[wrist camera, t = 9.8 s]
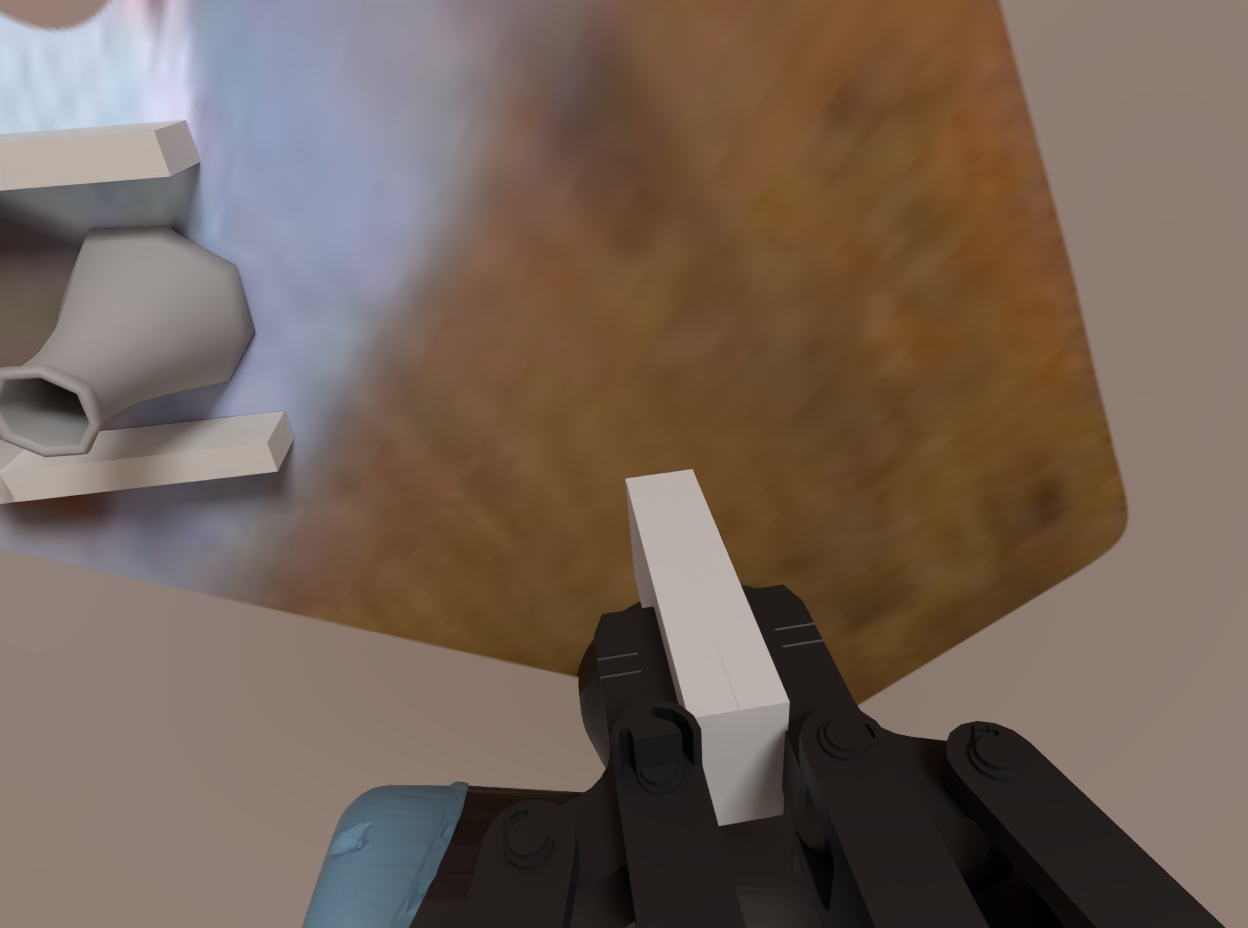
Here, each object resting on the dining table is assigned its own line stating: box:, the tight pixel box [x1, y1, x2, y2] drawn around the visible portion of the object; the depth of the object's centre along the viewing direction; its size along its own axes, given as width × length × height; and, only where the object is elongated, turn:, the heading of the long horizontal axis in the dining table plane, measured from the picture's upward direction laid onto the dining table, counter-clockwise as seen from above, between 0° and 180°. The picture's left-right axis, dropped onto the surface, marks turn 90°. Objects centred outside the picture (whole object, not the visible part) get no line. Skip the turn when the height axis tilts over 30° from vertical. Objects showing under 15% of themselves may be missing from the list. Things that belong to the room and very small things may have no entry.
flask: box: [0, 226, 255, 457], centre depth 27 cm, size 7×7×10 cm
